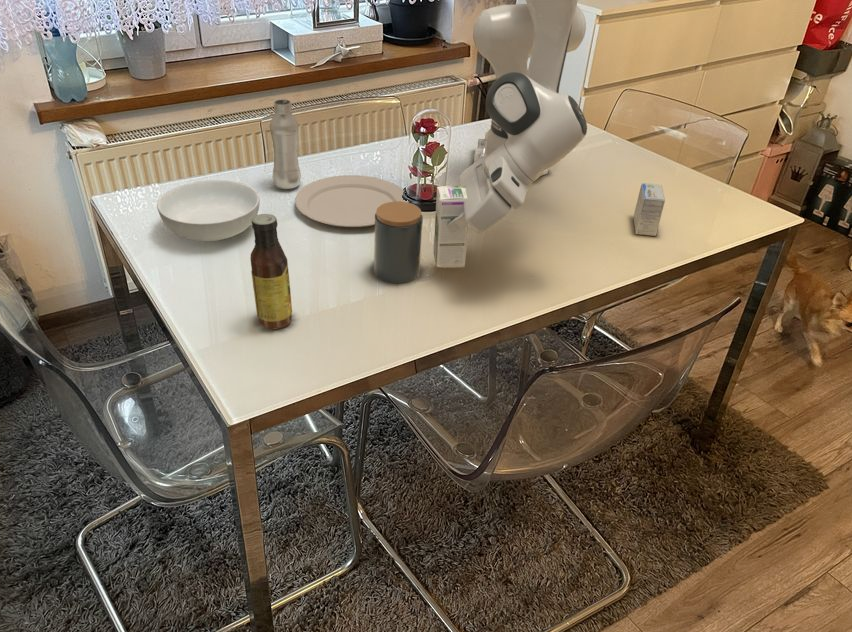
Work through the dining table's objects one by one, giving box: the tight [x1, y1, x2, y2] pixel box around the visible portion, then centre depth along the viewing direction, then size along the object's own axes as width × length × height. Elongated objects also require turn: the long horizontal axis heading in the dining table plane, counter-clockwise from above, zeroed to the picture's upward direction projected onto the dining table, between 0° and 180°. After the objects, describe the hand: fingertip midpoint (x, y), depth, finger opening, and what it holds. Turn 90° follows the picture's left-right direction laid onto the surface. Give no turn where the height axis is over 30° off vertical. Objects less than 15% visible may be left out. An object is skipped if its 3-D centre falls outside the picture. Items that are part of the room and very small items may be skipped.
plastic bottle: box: [269, 99, 302, 190], centre depth 168 cm, size 6×7×20 cm
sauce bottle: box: [249, 213, 293, 330], centre depth 124 cm, size 7×6×20 cm
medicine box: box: [632, 182, 666, 237], centre depth 159 cm, size 8×4×9 cm, turn 168°
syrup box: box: [433, 185, 469, 268], centre depth 139 cm, size 6×6×14 cm
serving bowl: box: [156, 179, 261, 242], centre depth 154 cm, size 21×21×7 cm
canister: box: [373, 201, 424, 284], centre depth 140 cm, size 9×9×13 cm
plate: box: [294, 174, 410, 228], centre depth 165 cm, size 26×26×2 cm
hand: (448, 219), depth 138 cm, fingers closed on syrup box, 6 cm apart
